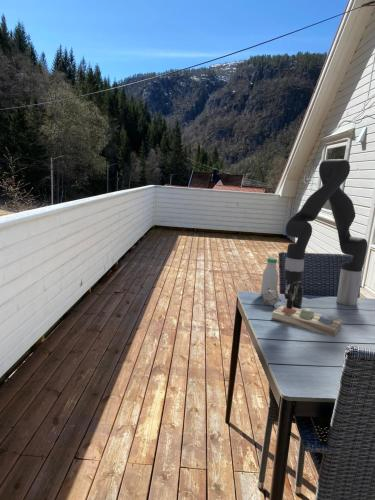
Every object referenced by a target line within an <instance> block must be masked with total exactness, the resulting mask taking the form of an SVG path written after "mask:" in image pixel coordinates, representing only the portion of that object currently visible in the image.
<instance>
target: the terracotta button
mask: <svg viewBox="0 0 375 500" xmlns="http://www.w3.org/2000/svg"><path fill="white" fill-rule="evenodd" d="M286 306H287V305H285V306H284V309H282V312H286V313H290V314H294V313H295V312H296V309H295V308H296V307H294V306H293V307H292V308H291V309H289V308H287V307H286Z"/></svg>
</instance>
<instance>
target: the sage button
mask: <svg viewBox="0 0 375 500" xmlns="http://www.w3.org/2000/svg"><path fill="white" fill-rule="evenodd" d="M314 313H315V311H314V310H313V309H312V308H309V307H308V308H307V307H303V308H301V311H300V316H301V317H305V318H308V319H312V318H313V317H314Z"/></svg>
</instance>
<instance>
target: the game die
mask: <svg viewBox="0 0 375 500" xmlns="http://www.w3.org/2000/svg"><path fill="white" fill-rule="evenodd" d="M268 289H269V288H268ZM278 292H279V289H277V291H273V290H270V289H269V290H267V291H266V292H265V293H264V294H263V295H262V294H261V293H260V294H259V295H260V296H261V295H262V296H263V297H262V299H263V302H264V303H263V305H268V306H271V307H272V308H274V307H275V306H276V305H277V304H278V303H279V302H282V300H281V299H280V295H279V293H278Z"/></svg>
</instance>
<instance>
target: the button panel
mask: <svg viewBox="0 0 375 500" xmlns="http://www.w3.org/2000/svg"><path fill="white" fill-rule="evenodd" d="M284 306H286V305H285V304H282V305H281V306H279V307H277V308H276V309H274V310H273V311H272V313H271V319H272V320H275V321H278V322H283V323H284V324H285V323H286V324H289V325H293V326H296V327H300V328H303V329H307V330H310V331H314V332H318V333H321V334H325V335H328V336H331V337H335V336H336V334H337V333H338V332H339V330H340V329H341V328H342V323H343V320H342V319H341V318H336V317H332V316H331V317H332V319H333V322H332V323H331V324H327V323H323V322H320V321H318V320H319V318H320V316H321V315H322V314H320V313H316V312H314V317H313V318H312V319H308V318H305V317H301V316H300V311H301V310H302V308H298V307H294V308H295V309H296V312H295V313H294V314H290V313H286V312H282V309H284Z"/></svg>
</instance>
